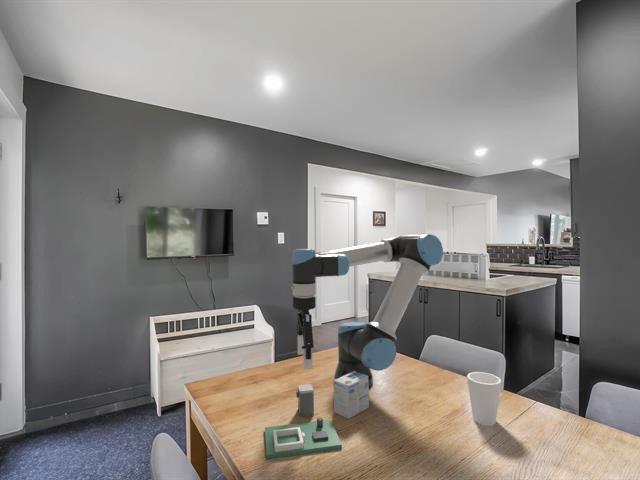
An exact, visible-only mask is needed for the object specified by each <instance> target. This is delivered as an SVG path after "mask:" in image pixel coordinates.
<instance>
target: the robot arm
mask: <svg viewBox="0 0 640 480" xmlns="http://www.w3.org/2000/svg"><path fill="white" fill-rule="evenodd" d="M443 256H444V248H443V243H442V242H441V240H440V239H439V238H438V237H437V236H436V235H434V234H431V233H425V232H424V233H418V234H415V233H412V234H411V233H410V234H409V233H407V234H401V235H397V236H392V237H390V238H384V239H381V240H380V241H378V242H375V243H369V244H363V245H361V244H360V245H356V246H351V247H344V248H336V249H331V250H326V251H320V252H316V250H315V249H314V248H295V249H294V250H293V251H292V257H291V259H292V260H291V261H292V262H291V265H292V268H291V269H292V271H291V272H292V286H290V290H292V296H293V297H292V308H293V309H294V310H297V321H296V334H297V356H298V355H303V356H302V357H303V359H302V364H303V365H302V367H303V370H312V369H313V349H314V347H315V345H314V337H313V336H314V334H313V325H312V324H313V323H312V319H313V317H312V314H310V310H313V309H315V308H316V306H317V305H316V299H317V297H316V293H317V291H316V289H317V285H316V278H322V277H342V276H346V275H347V274H348V273H349V270H350V267H355V266H362V265H366V264H367V265H368V264H371V263H378V262H384V263H392V262H397V263H399V264H400V266H399V268H398V270H397V272H396V275H395V276H394V278H393V280H392V283H391V284H390V286H389V288H388V290H387V292H386V294H385V297H384V298H383V301H382V302H381V304H380V307H379V309H378V311H377V313H376V315H375V317H374V319H373V321H369V322H363V321H352V322H351V321H350V322H344V323H341V324H339V325H338V329H337V340H338V341H337V342H338V343H337V345H338V347H337V350H338V351H337V352H338V354H337V355H338V361H337V365H336V368H335V372H334V379H333V381H334V380H335V379H338V378H340V377H342V376H344V375H347V374H349V373H350V372H353V371H356V372H358V373H361V374H364V375H367V376H368V385H369V387H371V386H372V385H373V383H374V376H373V373H372V370H373V371H378V372H379V371H383V370H387V369H388V368H390V367H391V365H393V363H394V361H395V360H396V357H397V352H398V351H397V347H396V344H395V343H396V341H397V339H398V338H397V336H396V331H397V329H398V327H399V324H400V322H401V320H402V318H403V316H404V314H405V312H406V310H407V308H408V305H409V303H410V302H411V299H412V298H413V295H414V293H415V290H416V288H417V286H418V284H419V282H420V280H421V278H422V276H424V275H426V274H428V273H429V271H430V270H431V267H432V266H436V265H438V264H439V263H441V261H442V259H443Z"/></svg>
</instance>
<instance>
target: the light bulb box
mask: <svg viewBox="0 0 640 480" xmlns="http://www.w3.org/2000/svg"><path fill="white" fill-rule="evenodd" d="M369 387H370V386H369V385H368V376H367V375H364V374H361V373H358V372H356V371H353V372H350V373H349V374H347V375H344V376H342V377H340V378H338V379H335V380H334V379H333V405H334V409H333V411H334V413H335V414H337V415H339V416H342V417H344V418H345V419H348V420H349V419H351V418H353V417H354V416H356V415H358V414H359V413H361V412H363V411H365V410H367V409H368V408H369V407H370V402H369V401H370V400H369V399H370V398H369V397H370V395H369V389H370V388H369Z"/></svg>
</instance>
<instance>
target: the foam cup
mask: <svg viewBox="0 0 640 480" xmlns="http://www.w3.org/2000/svg"><path fill="white" fill-rule="evenodd" d="M466 384H467V387H468V395H469V400H470V407H471V413H472V414H471V415H472V419H473V420H474V422H475V423H477V424H480V425H482V426H487V427H491V426H494V425H496V422H497V415H498V408H499V400H500V392H501V391H502V379H501V378H500V377H499V376H497V375H495V374H492V373H488V372H483V371H482V372H481V371H472V372H469V373H468V374H467V375H466Z"/></svg>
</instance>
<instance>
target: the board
mask: <svg viewBox="0 0 640 480" xmlns="http://www.w3.org/2000/svg"><path fill="white" fill-rule="evenodd" d="M264 434H265V436H264V437H265V439H264V440H265V450H266V451H265V452H266V459H267V460H269V459H274V458H275V457H276V458H282V457H289V456H296V455H304V454H311V453H317V452H325V451H331V450H332V451H333V450H339V449H340V450H341V449H342V442H341V439H340V437H339V435H338V433H337V430H336V428H335V426H334V424H333V422H332V419H323V417H318V418H316V420H313V421H306V422H297V423H291V424H280V425H274V426H273V425H272V426H265V427H264ZM268 458H269V459H268ZM276 458H275V459H276Z"/></svg>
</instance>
